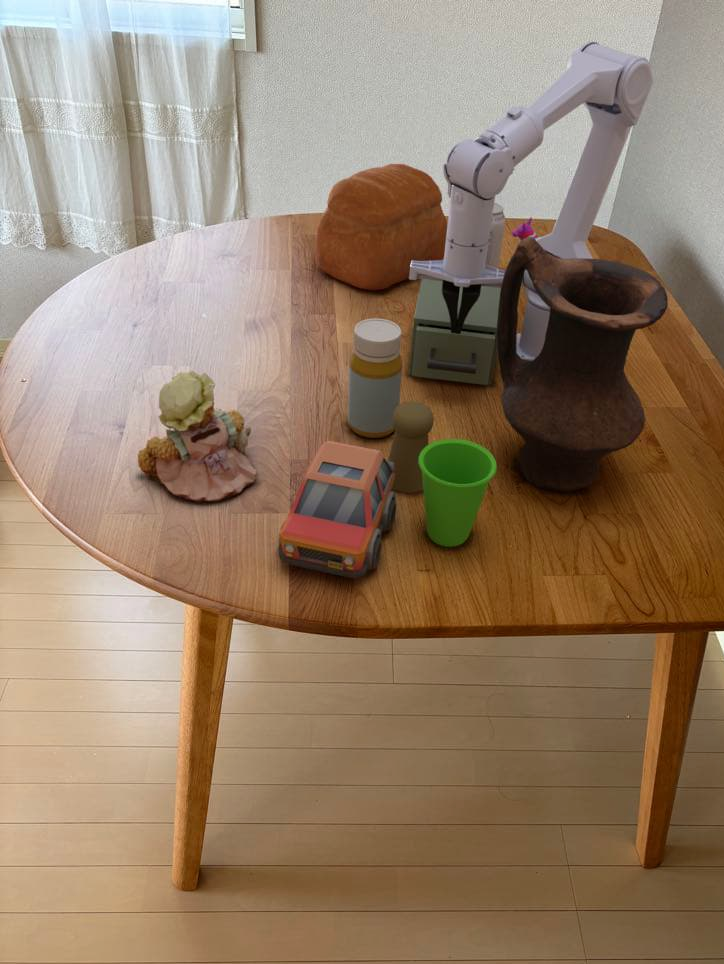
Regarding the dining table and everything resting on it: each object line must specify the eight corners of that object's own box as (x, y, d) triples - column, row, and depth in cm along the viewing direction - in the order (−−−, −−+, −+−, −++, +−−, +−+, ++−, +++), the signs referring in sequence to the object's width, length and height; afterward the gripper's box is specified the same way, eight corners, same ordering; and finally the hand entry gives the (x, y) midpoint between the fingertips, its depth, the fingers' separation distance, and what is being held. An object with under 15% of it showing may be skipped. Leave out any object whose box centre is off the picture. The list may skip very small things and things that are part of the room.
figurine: (233, 429, 124) (229, 334, 114) (280, 487, 117) (280, 391, 106) (127, 461, 117) (112, 363, 107) (169, 525, 110) (158, 426, 99)
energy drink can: (501, 293, 162) (514, 210, 152) (477, 301, 158) (488, 217, 149) (478, 280, 165) (489, 197, 155) (454, 288, 162) (463, 204, 152)
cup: (407, 509, 114) (415, 437, 107) (478, 510, 115) (490, 438, 108) (414, 558, 107) (422, 485, 100) (489, 558, 109) (503, 485, 101)
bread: (454, 266, 168) (465, 174, 157) (377, 302, 156) (383, 204, 144) (384, 236, 176) (389, 146, 165) (305, 267, 163) (305, 172, 152)
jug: (641, 452, 128) (703, 247, 108) (608, 527, 114) (672, 310, 95) (500, 410, 133) (534, 207, 113) (453, 477, 120) (483, 261, 100)
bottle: (404, 419, 129) (412, 324, 119) (386, 445, 124) (392, 348, 114) (359, 407, 131) (363, 312, 121) (339, 432, 126) (342, 335, 116)
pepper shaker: (425, 496, 116) (433, 425, 109) (379, 488, 117) (384, 416, 110) (433, 469, 121) (442, 399, 114) (389, 461, 122) (395, 390, 114)
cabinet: (491, 385, 138) (500, 328, 132) (408, 375, 138) (414, 318, 132) (493, 338, 149) (502, 283, 143) (417, 329, 149) (422, 274, 143)
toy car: (269, 572, 104) (267, 504, 97) (313, 486, 116) (314, 420, 110) (367, 593, 102) (371, 526, 96) (401, 503, 115) (407, 438, 108)
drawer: (486, 402, 133) (494, 355, 128) (409, 393, 133) (413, 345, 128) (490, 341, 146) (497, 296, 141) (420, 333, 147) (424, 288, 142)
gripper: (410, 244, 118) (402, 337, 127) (521, 257, 118) (506, 350, 126) (415, 223, 123) (407, 314, 132) (522, 235, 123) (506, 326, 132)
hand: (456, 330), depth 130 cm, fingers closed
